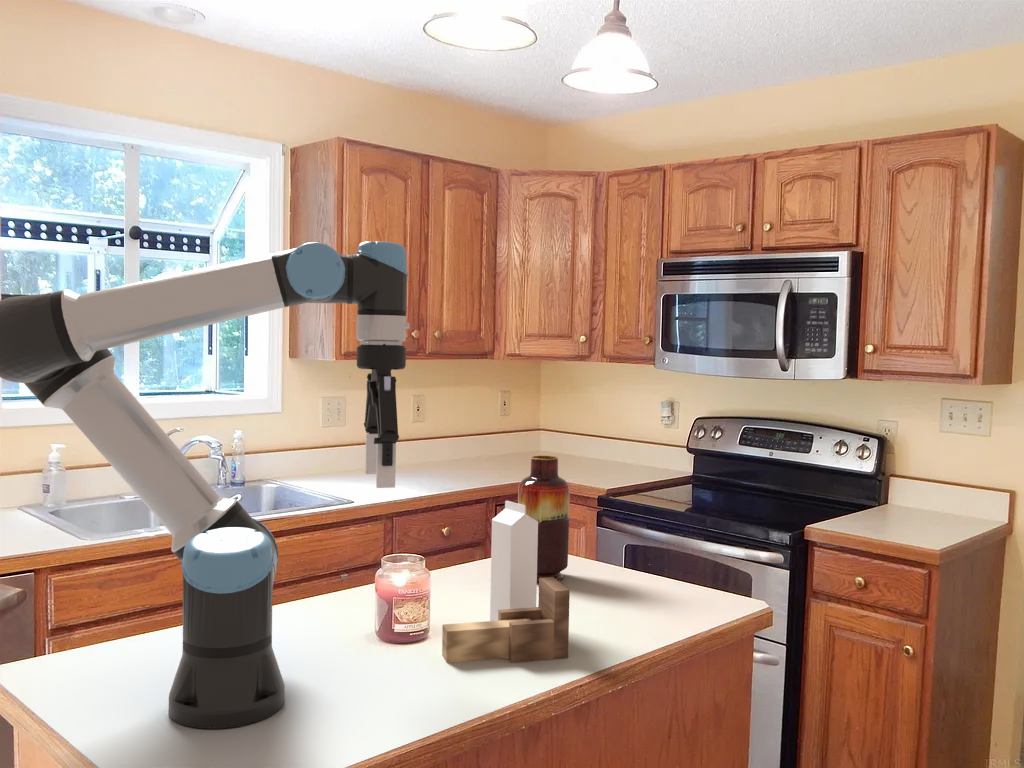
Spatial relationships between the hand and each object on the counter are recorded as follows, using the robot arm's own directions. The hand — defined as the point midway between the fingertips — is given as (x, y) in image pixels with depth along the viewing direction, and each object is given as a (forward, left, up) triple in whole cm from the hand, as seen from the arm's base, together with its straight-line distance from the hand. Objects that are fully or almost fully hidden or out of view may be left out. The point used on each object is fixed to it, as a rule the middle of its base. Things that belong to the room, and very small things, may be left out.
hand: (379, 480), depth 137 cm
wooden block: (+18, -1, -29) cm, 34 cm away
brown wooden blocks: (+25, -1, -29) cm, 38 cm away
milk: (+26, +13, -29) cm, 41 cm away
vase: (+41, +42, -29) cm, 65 cm away
